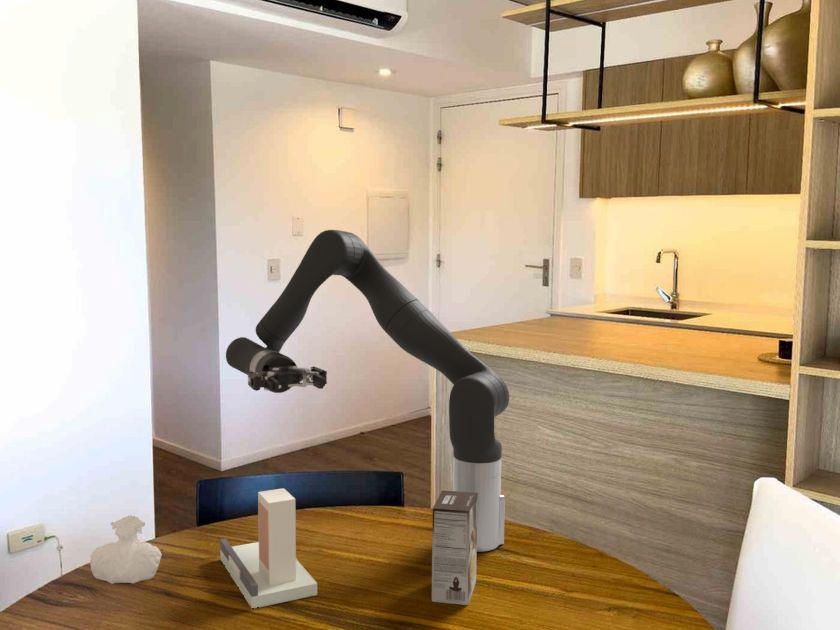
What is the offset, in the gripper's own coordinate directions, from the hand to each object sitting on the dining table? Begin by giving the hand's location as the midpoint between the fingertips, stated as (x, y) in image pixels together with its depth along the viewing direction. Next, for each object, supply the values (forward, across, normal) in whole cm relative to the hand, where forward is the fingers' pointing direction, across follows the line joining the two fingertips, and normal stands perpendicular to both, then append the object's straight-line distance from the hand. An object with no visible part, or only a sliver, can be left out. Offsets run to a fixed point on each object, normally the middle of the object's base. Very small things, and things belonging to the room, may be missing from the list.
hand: (299, 385), depth 143 cm
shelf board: (+6, -8, +32) cm, 34 cm away
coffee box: (+26, +18, +32) cm, 45 cm away
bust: (-4, -30, +32) cm, 44 cm away
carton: (+11, -8, +30) cm, 33 cm away
